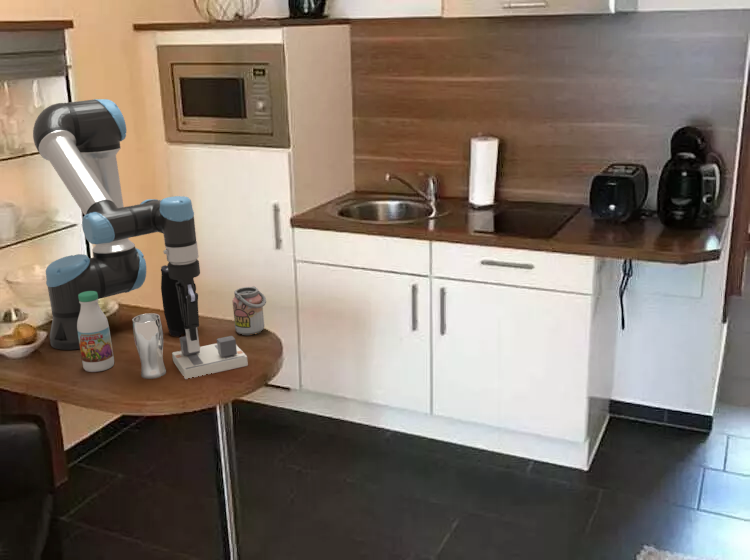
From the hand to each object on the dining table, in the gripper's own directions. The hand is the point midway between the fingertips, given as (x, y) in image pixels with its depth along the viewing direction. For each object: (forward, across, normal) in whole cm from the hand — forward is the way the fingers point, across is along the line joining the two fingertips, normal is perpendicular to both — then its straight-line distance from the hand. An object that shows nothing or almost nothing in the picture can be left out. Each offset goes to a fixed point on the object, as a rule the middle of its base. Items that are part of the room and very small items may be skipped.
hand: (194, 350), depth 209 cm
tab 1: (+2, -4, 0) cm, 4 cm away
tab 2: (+2, +2, +8) cm, 8 cm away
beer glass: (+5, -2, -10) cm, 12 cm away
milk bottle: (+5, -14, -22) cm, 26 cm away
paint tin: (+5, -17, +20) cm, 27 cm away
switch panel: (+5, -1, +4) cm, 6 cm away
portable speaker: (+5, -27, +4) cm, 28 cm away
